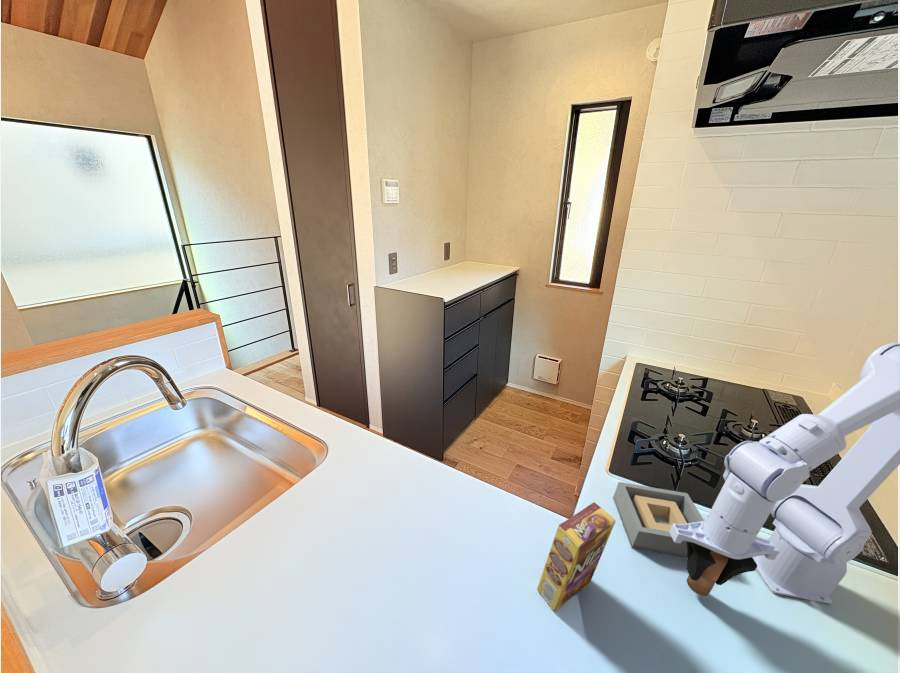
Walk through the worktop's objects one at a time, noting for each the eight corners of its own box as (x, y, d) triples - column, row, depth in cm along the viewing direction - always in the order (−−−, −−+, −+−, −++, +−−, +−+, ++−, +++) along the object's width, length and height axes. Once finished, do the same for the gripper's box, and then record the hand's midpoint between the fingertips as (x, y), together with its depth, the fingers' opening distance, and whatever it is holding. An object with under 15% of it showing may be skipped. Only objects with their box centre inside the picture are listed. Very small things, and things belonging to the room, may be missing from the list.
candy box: (556, 616, 54) (579, 547, 48) (535, 590, 57) (555, 523, 52) (592, 585, 59) (617, 519, 53) (571, 563, 62) (592, 499, 56)
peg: (702, 578, 60) (720, 545, 57) (713, 598, 57) (732, 565, 54) (683, 574, 60) (700, 542, 57) (692, 594, 57) (710, 561, 54)
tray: (680, 508, 76) (687, 493, 74) (710, 562, 65) (719, 545, 63) (613, 497, 77) (618, 481, 75) (631, 548, 66) (638, 531, 64)
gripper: (769, 503, 56) (735, 561, 61) (673, 487, 57) (647, 545, 62) (805, 544, 49) (763, 605, 54) (695, 525, 50) (664, 586, 56)
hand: (703, 576), depth 58 cm, fingers closed on peg, 3 cm apart
